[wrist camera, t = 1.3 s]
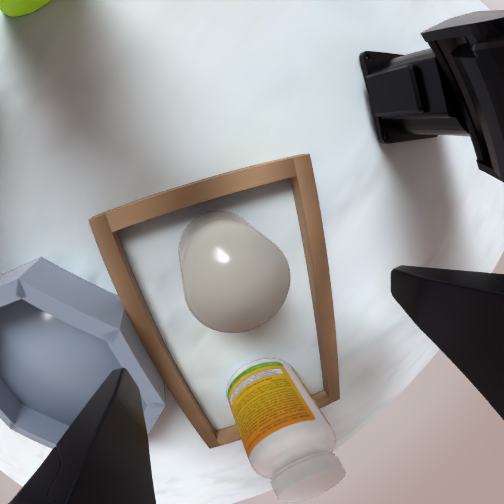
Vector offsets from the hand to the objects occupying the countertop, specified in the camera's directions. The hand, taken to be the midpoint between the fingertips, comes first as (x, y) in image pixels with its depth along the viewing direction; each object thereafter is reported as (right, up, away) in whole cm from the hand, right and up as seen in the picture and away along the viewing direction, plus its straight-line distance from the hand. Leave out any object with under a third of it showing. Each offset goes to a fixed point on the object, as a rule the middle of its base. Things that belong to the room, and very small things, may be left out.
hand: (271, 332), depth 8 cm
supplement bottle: (0, -7, +12) cm, 14 cm away
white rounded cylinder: (-2, +2, +8) cm, 9 cm away
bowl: (-14, -5, +7) cm, 16 cm away
